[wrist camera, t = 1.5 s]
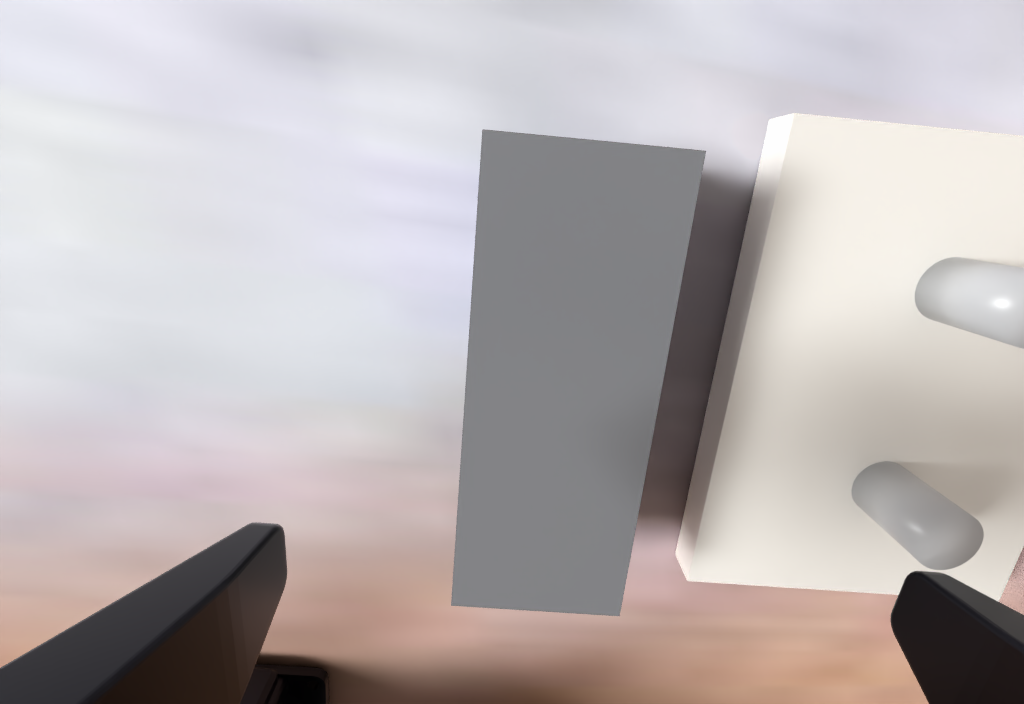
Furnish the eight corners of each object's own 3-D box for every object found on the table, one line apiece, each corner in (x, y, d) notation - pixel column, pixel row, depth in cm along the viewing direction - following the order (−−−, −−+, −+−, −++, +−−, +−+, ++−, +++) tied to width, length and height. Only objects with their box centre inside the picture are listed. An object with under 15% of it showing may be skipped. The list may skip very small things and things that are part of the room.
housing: (593, 515, 20) (619, 616, 16) (464, 506, 20) (451, 605, 16) (648, 160, 17) (705, 150, 12) (489, 145, 16) (482, 129, 12)
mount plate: (966, 573, 21) (1080, 670, 17) (675, 554, 21) (718, 648, 17) (1141, 156, 17) (1361, 146, 12) (768, 119, 16) (863, 96, 12)
